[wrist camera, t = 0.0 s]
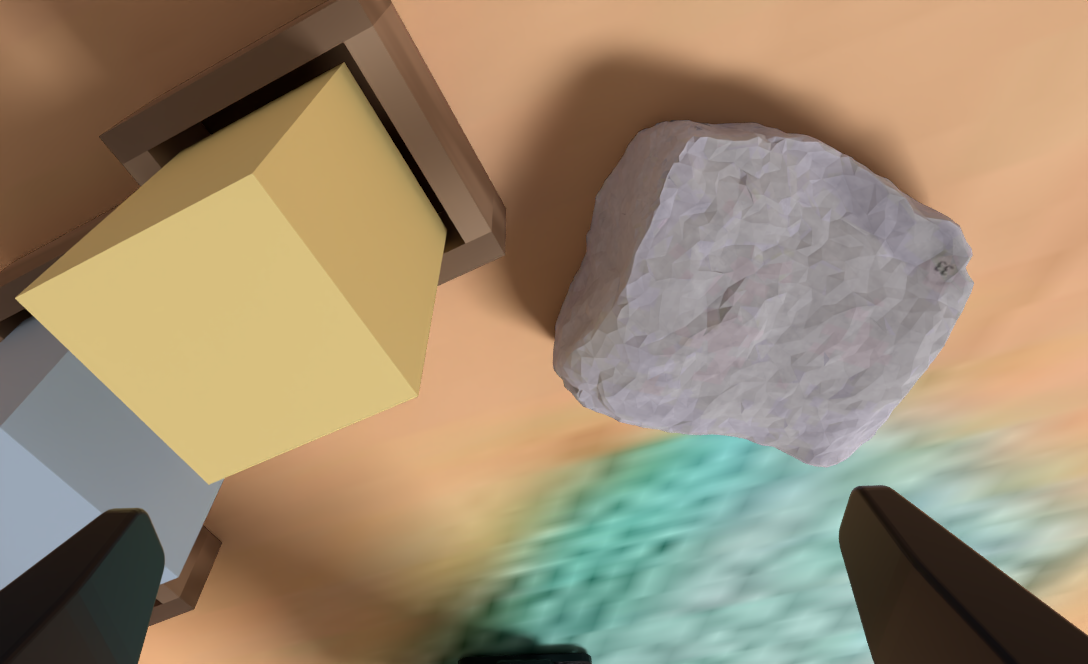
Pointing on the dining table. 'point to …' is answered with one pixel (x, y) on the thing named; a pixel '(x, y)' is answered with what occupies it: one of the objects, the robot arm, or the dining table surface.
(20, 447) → the blue-grey block
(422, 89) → the walnut sockets
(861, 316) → the stone block
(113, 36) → the dining table surface
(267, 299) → the ochre block
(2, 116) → the dining table surface
